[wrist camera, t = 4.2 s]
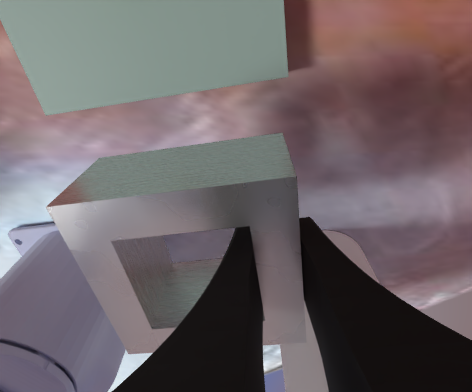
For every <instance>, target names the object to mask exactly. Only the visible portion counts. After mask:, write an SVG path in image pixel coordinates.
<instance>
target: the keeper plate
mask: <svg viewBox="0 0 472 392" xmlns="http://www.w3.org/2000/svg"><path fill="white" fill-rule="evenodd" d="M0 20H1V22H2V24H3V26H4V28H5V31H6V33H7V35H8V37H9V39H10V41H11V43H12V45H13V47H14V50H15V52H16V54H17V56H18V58H19V60H20V62H21V64H22V66H23V68H24V71H25V73H26V75H27V77H28V79H29V81H30V83H31V85H32V87H33V90H34V92H35V94H36V96H37V98H38V100H39V102H40V104H41V106H42V109H43V111H44V113H45V115H52V114H59V113H65V112H71V111H77V110H84V109H90V108H96V107H103V106H109V105H115V104H121V103H128V102H134V101H140V100H147V99H153V98H159V97H165V96H172V95H178V94H184V93H191V92H197V91H203V90H209V89H216V88H222V87H228V86H234V85H241V84H247V83H253V82H260V81H266V80H272V79H278V78H285V77H288V63H287V47H286V31H285V15H284V0H0Z"/></svg>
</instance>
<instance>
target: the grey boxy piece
mask: <svg viewBox="0 0 472 392" xmlns="http://www.w3.org/2000/svg"><path fill="white" fill-rule="evenodd" d="M46 209H47V210H48V212H49V214H50V216H51V217H52V219H53V221H54V223H55V225H56V226H57V228H58V230H59V232H60V233H61V235H62V237H63V239H64V240H65V242H66V244H67V246H68V248H69V249H70V251H71V253H72V255H73V256H74V258H75V260H76V262H77V263H78V265H79V267H80V269H81V271H82V272H83V274H84V276H85V278H86V279H87V281H88V283H89V285H90V287H91V288H92V290H93V292H94V294H95V295H96V297H97V299H98V301H99V302H100V304H101V306H102V308H103V310H104V311H105V313H106V315H107V317H108V318H109V320H110V322H111V324H112V326H113V327H114V329H115V331H116V333H117V334H118V336H119V338H120V340H121V341H122V343H123V345H124V347H125V349H126V350H127V352H128V354H138V353H153V352H155V350H156V349H157V348H158V347H159V346H160V345H161V344H162V343H163V342H164V341H165V340H166V339H167V338H168V337H169V336H170V335H171V333H172V332H173V331H174V330H175V329H176V328H177V326H178V325H179V324H180V323H181V322H182V320H183V319H184V318H185V316H186V315H187V314H188V313H189V311H190V310H191V309H192V308H193V306H194V305H195V303H196V302H197V301H198V299H199V298H200V296H201V295H202V293H203V292H204V290H205V289H206V287H207V286H208V284H209V283H210V281H211V279H212V277H213V276H214V274H215V272H216V271H217V269H218V267H219V265H220V263H221V261H222V259H223V258H221V259H210V260H200V261H190V262H180V263H172V261H171V258H170V255H169V252H168V249H167V246H166V244H165V241H164V238H163V235H171V234H180V233H189V232H198V231H208V230H217V229H226V228H235V227H245V226H250V231H251V237H252V243H253V249H254V255H255V261H256V268H257V274H258V280H259V286H260V293H261V299H262V305H263V345H275V344H291V343H306V327H305V310H304V293H303V276H302V259H301V242H300V225H299V208H298V191H297V176H296V173H295V170H294V167H293V164H292V161H291V158H290V155H289V151H288V148H287V145H286V142H285V139H284V136H283V133H277V134H270V135H262V136H255V137H248V138H241V139H234V140H226V141H219V142H212V143H205V144H198V145H191V146H183V147H176V148H169V149H162V150H155V151H147V152H140V153H133V154H126V155H119V156H111V157H104V158H99V159H98V160H97V161H96V162H95V163H93V164H92V165H91V166H90V167H89V168H88V169H87V170H86V171H85V172H84V173H83V174H81V175H80V176H79V177H78V178H77V179H76V180H75V181H74V182H73V183H72V184H71V185H69V186H68V187H67V188H66V189H65V190H64V191H63V192H62V193H61V194H60V195H59V196H57V197H56V198H55V199H54V200H53V201H52V202H51V203H50V204H49V205H48V206H47V207H46Z"/></svg>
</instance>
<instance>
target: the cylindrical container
mask: <svg viewBox="0 0 472 392" xmlns="http://www.w3.org/2000/svg"><path fill="white" fill-rule="evenodd" d="M322 231H323V233H324V234H325V235H326V236H327V237H328V238H329V239H330V240H331V241H332V242H333V243H334V244H335V245H336V246H337V247H338V248H339V249H340V250H341V251H342V252H343V253H344V254H345V255H346V256H347V257H348V258H349V259H350V260H351V261H352V262H354V263H355V264H356V265H357V266H358V267H359V268H361V269H362V270H363V271H364V272H365V273H366V274H368V275H369V276H370V277H371V278H373V279H374V280H375V281H376V282H378V283H379V281H378V279H377V277H376V275H375V273H374V272H373V270H372V268H371V266H370V264H369V262H368V260H367V258H366V257H365V255H364V253H363V251H362V249H361V247H360V246H359V245H358V244H357V242H356V241H355V240H353V239H352V238H351V237H349V236H347V235H345V234H343V233H339V232H336V231H329V230H322ZM379 284H380V283H379ZM304 310H305V327H306V343H291V344H280V348H281V357H282V365H283V373H284V382H285V390H286V392H329V390H328V385H327V380H326V376H325V371H324V366H323V362H322V357H321V354H320V350H319V346H318V343H317V340H316V336H315V333H314V330H313V327H312V324H311V320H310V317H309V314H308V311H307V308H306V304H305V301H304Z"/></svg>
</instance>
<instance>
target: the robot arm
mask: <svg viewBox="0 0 472 392" xmlns="http://www.w3.org/2000/svg"><path fill="white" fill-rule="evenodd" d="M299 225H300V242H301V259H302V276H303V293H304V301H305V304H306V308H307V311H308V314H309V317H310V320H311V324H312V327H313V330H314V333H315V336H316V340H317V343H318V346H319V350H320V354H321V357H322V362H323V366H324V371H325V376H326V380H327V385H328V390H329V392H472V340H470V339H468V338H466V337H464V336H462V335H461V334H459V333H457V332H455V331H453V330H452V329H450V328H448V327H446V326H444V325H442V324H441V323H439V322H437V321H435V320H434V319H432V318H430V317H429V316H427V315H425V314H424V313H422V312H421V311H419V310H417V309H416V308H414V307H413V306H411V305H409V304H408V303H406V302H405V301H403V300H401V299H400V298H399V297H397V296H396V295H394V294H393V293H391V292H390V291H389V290H387V289H386V288H384V287H383V286H382V285H380V284H379V283H378V282H376V281H375V280H374V279H373V278H371V277H370V276H369V275H368V274H366V273H365V272H364V271H363V270H362V269H361V268H359V267H358V266H357V265H356V264H355V263H354V262H352V261H351V260H350V259H349V258H348V257H347V256H346V255H345V254H344V253H343V252H342V251H341V250H340V249H339V248H338V247H337V246H336V245H335V244H334V243H333V242H332V241H331V240H330V239H329V238H328V237H327V236H326V235H325V234H324V233H323V231H322V230H321V229H320V228H319V227H318V226H317V224H316V223H315V222H314V221H313V219H311V218H310V217H306V218H299ZM8 236H9V238H10V239H11V241H12V242H13V244H14V245H15V247H16V248H17V250H18V251H19V253H20V254H21V256H22V257H21V258H20V259H19V260H18V261H17V262H16V263H15V264H14V265H13V266H12V267H11V268H10V270H9V271H8V272H7V273H6V274H5V275H4V276H3V277H2V278H1V279H0V392H107V391H108V390H109V389H110V387H111V385H112V384H113V382H114V380H115V377H116V375H117V372H118V370H119V367H120V364H121V361H122V358H123V356H124V353H125V350H126V349H125V347H124V345H123V343H122V341H121V340H120V338H119V336H118V334H117V333H116V331H115V329H114V327H113V326H112V324H111V322H110V320H109V318H108V317H107V315H106V313H105V311H104V310H103V308H102V306H101V304H100V302H99V301H98V299H97V297H96V295H95V294H94V292H93V290H92V288H91V287H90V285H89V283H88V281H87V279H86V278H85V276H84V274H83V272H82V271H81V269H80V267H79V265H78V263H77V262H76V260H75V258H74V256H73V255H72V253H71V251H70V249H69V248H68V246H67V244H66V242H65V240H64V239H63V237H62V235H61V233H60V232H59V230H58V228H57V226H56V225H55V223H53V224H45V225H36V226H28V227H20V228H14V229H12V230H11V231H9V233H8ZM20 240H21V241H20ZM264 383H265V382H264V369H263V305H262V299H261V293H260V286H259V280H258V274H257V268H256V261H255V255H254V249H253V243H252V237H251V231H250V226H245V227H236V228H235V232H234V234H233V237H232V240H231V242H230V244H229V247H228V249H227V251H226V253H225V255H224V257H223V259H222V261H221V263H220V265H219V267H218V269H217V271H216V272H215V274H214V276H213V277H212V279H211V281H210V283H209V284H208V286H207V287H206V289H205V290H204V292H203V293H202V295H201V296H200V298H199V299H198V301H197V302H196V303H195V305H194V306H193V308H192V309H191V310H190V311H189V313H188V314H187V315H186V316H185V318H184V319H183V320H182V322H181V323H180V324H179V325H178V326H177V328H176V329H175V330H174V331H173V332H172V333H171V335H170V336H169V337H168V338H167V339H166V340H165V341H164V342H163V343H162V344H161V345H160V346H159V347H158V348H157V349H156V350H155V352H154V353H153V354H152V355H151V356H150V357H149V358H148V359H147V360H146V361H145V362H144V363H143V364H142V365H141V366H140V367H139V368H137V369H136V370H135V371H134V372H133V373H132V374H131V375H130V376H129V377H128V378H127V379H125V380H124V381H123V382H122V383H121V384H120V385H119V386H118V387H117V388H116V389H114V390H113V391H112V392H265V384H264Z"/></svg>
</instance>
